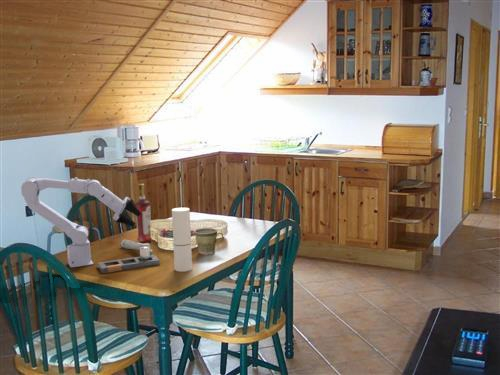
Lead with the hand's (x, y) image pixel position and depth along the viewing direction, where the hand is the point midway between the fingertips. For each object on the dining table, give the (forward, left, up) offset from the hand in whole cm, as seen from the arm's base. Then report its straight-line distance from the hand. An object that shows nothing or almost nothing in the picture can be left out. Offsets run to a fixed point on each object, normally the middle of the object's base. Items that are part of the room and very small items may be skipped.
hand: (136, 219), depth 266 cm
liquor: (+10, +28, -18) cm, 34 cm away
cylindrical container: (+13, -22, -18) cm, 31 cm away
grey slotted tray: (-6, -7, -18) cm, 20 cm away
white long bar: (+2, +12, -18) cm, 22 cm away
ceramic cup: (+31, -5, -18) cm, 36 cm away
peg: (+1, -7, -18) cm, 19 cm away
